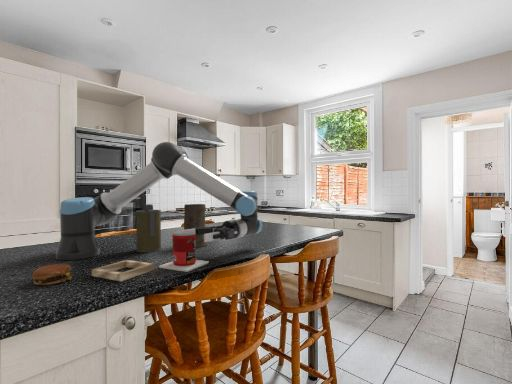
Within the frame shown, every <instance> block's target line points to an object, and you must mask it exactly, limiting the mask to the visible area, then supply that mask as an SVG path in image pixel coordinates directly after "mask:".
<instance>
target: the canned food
mask: <svg viewBox="0 0 512 384" xmlns="http://www.w3.org/2000/svg"><path fill="white" fill-rule="evenodd" d="M196 260H197V248H196V233H195V231H181V230H177V231H173V232H172V261H173V263H174V265H176V266H189V265H193V264H195V262H196Z"/></svg>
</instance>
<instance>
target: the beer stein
mask: <svg viewBox="0 0 512 384" xmlns="http://www.w3.org/2000/svg"><path fill="white" fill-rule="evenodd" d="M206 209H207V207H206V204H205V203H194V204H193V203H192V204H191V203H190V204H187V203H186V204H184V207H183V210H184V216H183V217H184V218H183V230H188V229H192V228H198V227H206ZM207 245H208V242H204V235H196V249H197V248H203V247H206V246H207Z"/></svg>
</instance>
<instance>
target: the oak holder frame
mask: <svg viewBox="0 0 512 384" xmlns="http://www.w3.org/2000/svg"><path fill="white" fill-rule="evenodd" d="M124 268H128V269H129V268H131V269H129V270H126V271H122V272H121V271H119V270H121V269H124ZM152 271H155V263H151V262H146V261H137V260H130V259H129V260H128V259H125V260H122V261H118V262H114V263H110V264H107V265H102V266H100V267H96V268H91V277H96V278H101V279H106V280H112V281H115V282H123V281H127V280H130V279H132V278H135V277H137V276H140V275H143V274H147V273H149V272H152Z"/></svg>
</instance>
